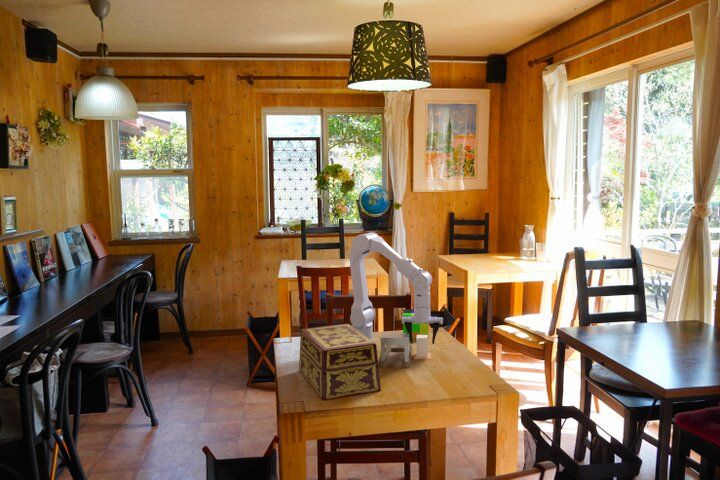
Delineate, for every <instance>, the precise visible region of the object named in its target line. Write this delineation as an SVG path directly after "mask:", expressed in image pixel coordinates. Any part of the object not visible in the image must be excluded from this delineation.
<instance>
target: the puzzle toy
mask: <svg viewBox="0 0 720 480" xmlns="http://www.w3.org/2000/svg"><path fill="white" fill-rule="evenodd" d="M411 316H414V308H411V309H409V308H408V309H406V308H405V309H403V312H402V317H411ZM402 333H408V332H407V330H406V328H405V323H402ZM417 335H428V340H429V335H430V333H429V323H412V336H413V340H414V339H415V340H416V337H417ZM409 340H410V338H409Z"/></svg>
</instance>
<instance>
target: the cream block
mask: <svg viewBox="0 0 720 480" xmlns="http://www.w3.org/2000/svg"><path fill="white" fill-rule="evenodd" d="M415 340H416V341H415V343H416V345H415V346H416V348H415V349H416V352H417V357H428V353H429V339H428V335H417V337H416V339H415Z"/></svg>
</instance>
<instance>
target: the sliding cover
mask: <svg viewBox="0 0 720 480" xmlns="http://www.w3.org/2000/svg"><path fill="white" fill-rule="evenodd" d="M386 345H405V362H408V361H409V345H410V339H409V333H403V332H382V333H381V336H380V360H381V362H385V359H386Z"/></svg>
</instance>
